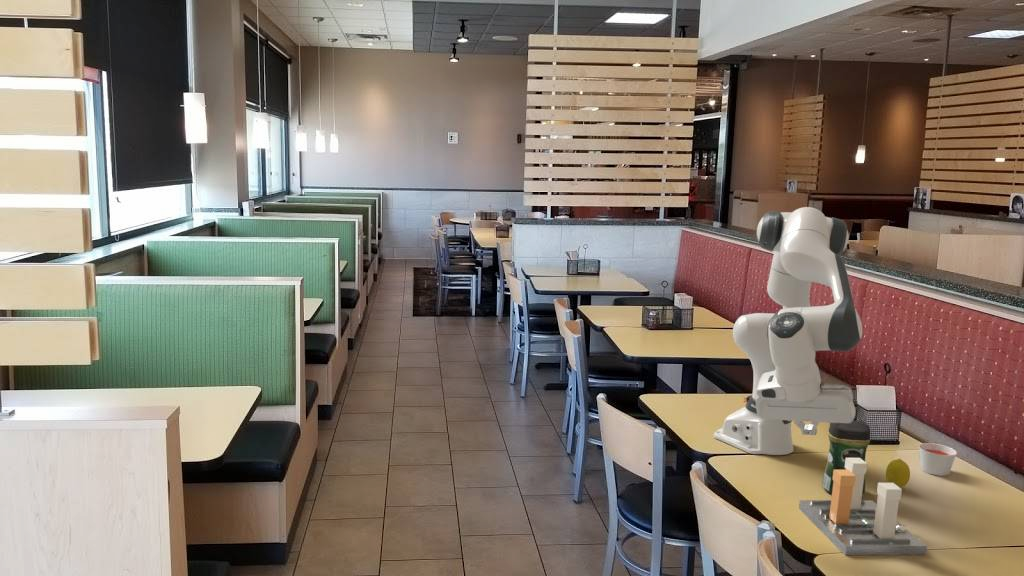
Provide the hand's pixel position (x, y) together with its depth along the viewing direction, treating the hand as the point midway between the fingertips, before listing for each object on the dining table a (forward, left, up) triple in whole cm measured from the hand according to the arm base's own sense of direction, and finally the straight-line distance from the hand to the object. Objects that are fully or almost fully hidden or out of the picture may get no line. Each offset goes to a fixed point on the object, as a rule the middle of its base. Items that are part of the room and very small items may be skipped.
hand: (809, 433), depth 176 cm
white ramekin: (+8, +61, -22) cm, 65 cm away
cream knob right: (+16, +6, -20) cm, 26 cm away
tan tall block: (+7, +5, -20) cm, 21 cm away
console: (+10, +9, -22) cm, 26 cm away
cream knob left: (+5, +14, -20) cm, 25 cm away
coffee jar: (-2, +27, -22) cm, 35 cm away
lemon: (+6, +40, -22) cm, 46 cm away
